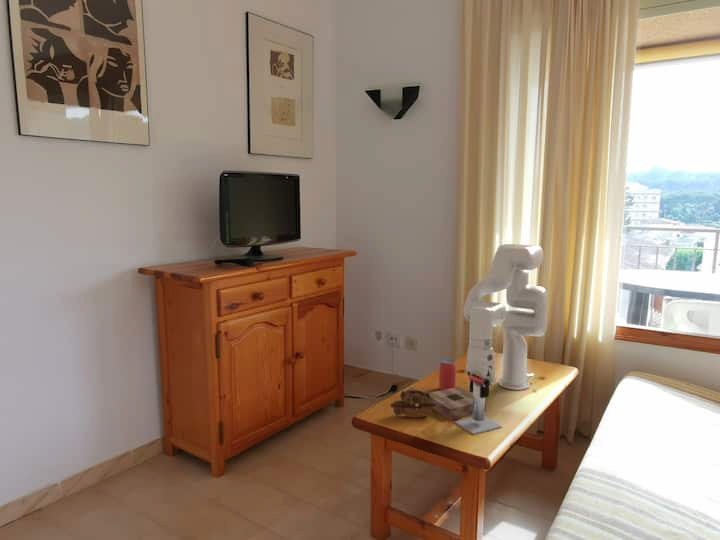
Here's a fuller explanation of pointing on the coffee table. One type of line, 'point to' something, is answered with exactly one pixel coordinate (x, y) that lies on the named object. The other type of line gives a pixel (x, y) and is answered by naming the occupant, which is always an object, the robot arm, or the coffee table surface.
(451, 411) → the eye block
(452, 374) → the beer can
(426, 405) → the wooden carving
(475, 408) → the peg
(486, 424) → the mat
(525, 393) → the coffee table surface
